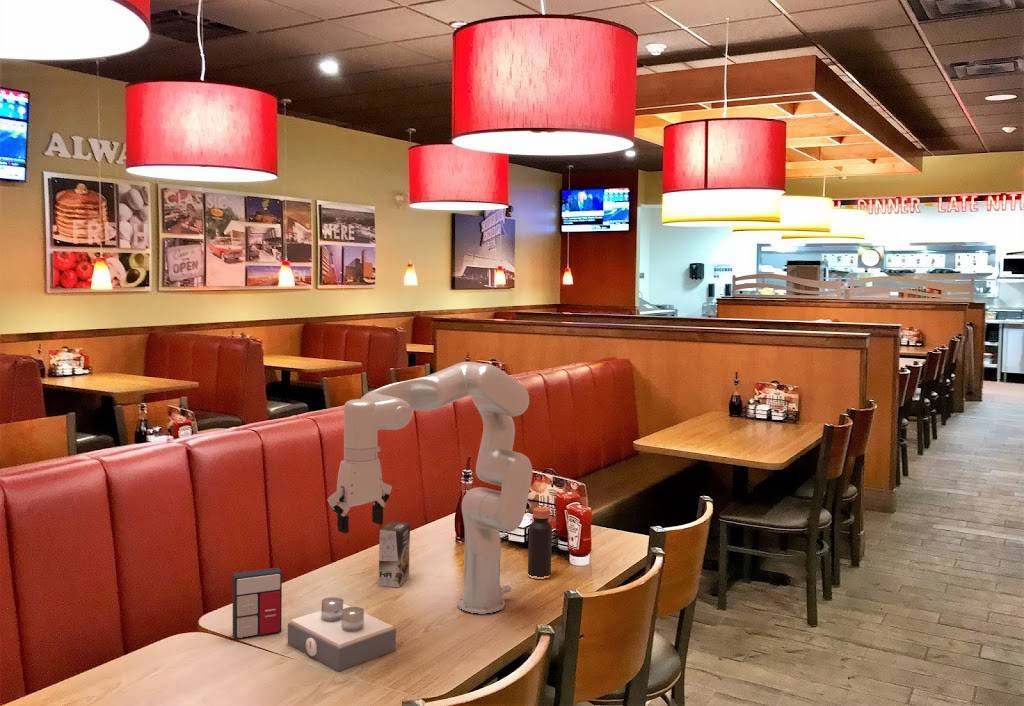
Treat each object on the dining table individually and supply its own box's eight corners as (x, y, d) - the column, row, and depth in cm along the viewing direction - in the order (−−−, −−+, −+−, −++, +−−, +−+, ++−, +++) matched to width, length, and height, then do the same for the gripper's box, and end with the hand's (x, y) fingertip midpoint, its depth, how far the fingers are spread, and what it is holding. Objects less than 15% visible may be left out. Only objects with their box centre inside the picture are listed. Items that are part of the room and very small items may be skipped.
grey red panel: (235, 640, 205) (235, 578, 203) (231, 634, 208) (232, 573, 207) (282, 633, 210) (282, 572, 208) (278, 626, 213) (278, 567, 212)
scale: (343, 625, 215) (344, 602, 215) (395, 650, 202) (395, 626, 201) (285, 644, 203) (285, 620, 203) (336, 672, 190) (336, 646, 189)
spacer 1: (326, 612, 208) (326, 596, 208) (345, 615, 207) (346, 598, 207) (317, 620, 203) (318, 603, 203) (338, 622, 202) (338, 605, 202)
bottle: (554, 575, 256) (557, 508, 255) (543, 581, 251) (545, 513, 249) (535, 570, 260) (537, 505, 258) (523, 577, 254) (525, 509, 252)
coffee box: (399, 588, 242) (400, 531, 241) (377, 586, 244) (378, 529, 242) (410, 577, 251) (411, 522, 250) (388, 575, 252) (389, 520, 251)
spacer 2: (354, 621, 203) (355, 605, 203) (368, 627, 200) (368, 611, 199) (337, 627, 199) (337, 610, 199) (350, 634, 196) (350, 616, 196)
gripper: (380, 446, 206) (380, 516, 208) (319, 457, 194) (319, 532, 195) (400, 451, 201) (400, 523, 203) (339, 462, 189) (339, 539, 190)
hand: (360, 527), depth 199 cm, fingers open, 9 cm apart
